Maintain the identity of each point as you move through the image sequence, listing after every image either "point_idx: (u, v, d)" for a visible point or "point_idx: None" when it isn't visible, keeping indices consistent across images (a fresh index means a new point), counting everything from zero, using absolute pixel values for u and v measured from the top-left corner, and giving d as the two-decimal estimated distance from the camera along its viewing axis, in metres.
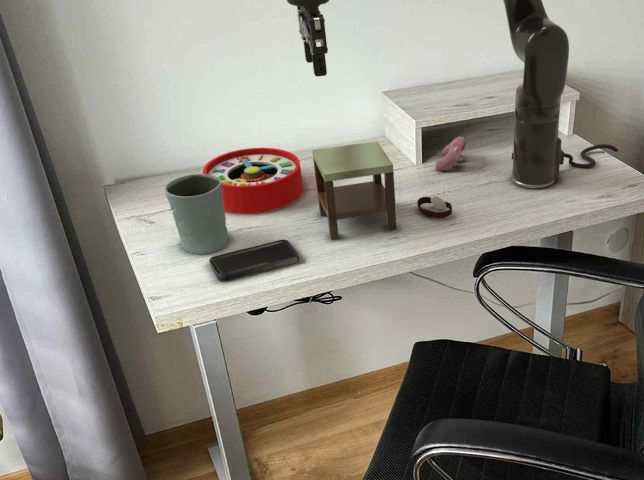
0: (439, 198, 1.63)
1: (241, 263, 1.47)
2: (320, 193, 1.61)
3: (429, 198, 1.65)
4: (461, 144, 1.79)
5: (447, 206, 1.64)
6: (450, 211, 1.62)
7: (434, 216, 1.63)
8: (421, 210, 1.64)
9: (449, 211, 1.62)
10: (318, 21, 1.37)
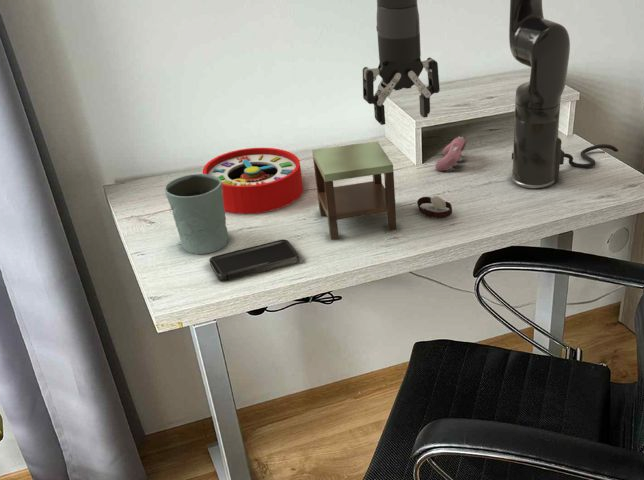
0: (439, 198, 1.63)
1: (241, 263, 1.47)
2: (320, 193, 1.61)
3: (429, 198, 1.65)
4: (461, 144, 1.79)
5: (447, 206, 1.64)
6: (450, 211, 1.62)
7: (434, 216, 1.63)
8: (421, 210, 1.64)
9: (449, 211, 1.62)
10: (365, 72, 1.45)
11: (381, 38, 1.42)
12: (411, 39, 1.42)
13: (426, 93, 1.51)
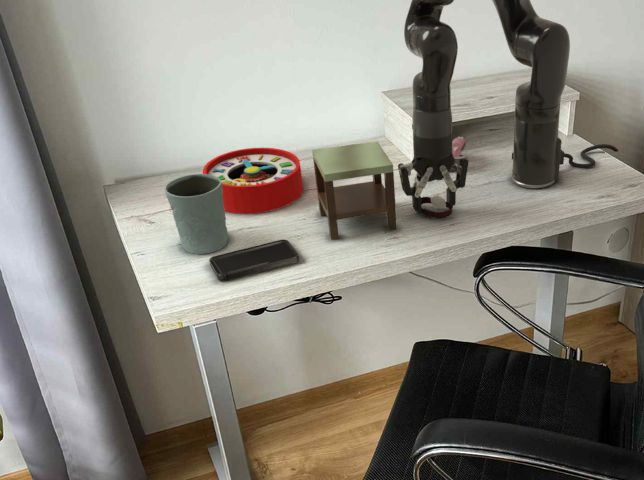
0: (439, 198, 1.63)
1: (241, 263, 1.47)
2: (320, 193, 1.61)
3: (429, 198, 1.65)
4: (461, 144, 1.79)
5: (447, 206, 1.64)
6: (450, 211, 1.62)
7: (434, 216, 1.63)
8: None
9: (449, 211, 1.62)
10: (400, 169, 1.56)
11: (415, 136, 1.53)
12: (443, 139, 1.52)
13: (452, 187, 1.61)
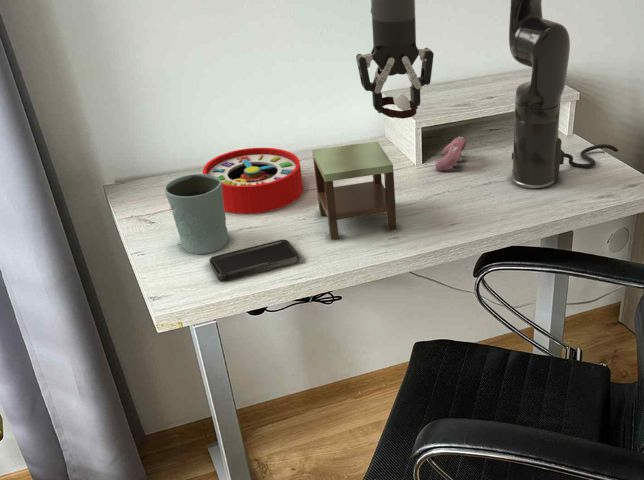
0: (402, 97, 1.50)
1: (241, 263, 1.47)
2: (320, 193, 1.61)
3: (392, 98, 1.51)
4: (461, 144, 1.79)
5: (411, 106, 1.50)
6: (414, 110, 1.48)
7: (397, 116, 1.49)
8: (383, 110, 1.50)
9: (413, 111, 1.48)
10: (358, 60, 1.43)
11: (374, 21, 1.39)
12: (404, 23, 1.38)
13: (416, 84, 1.47)
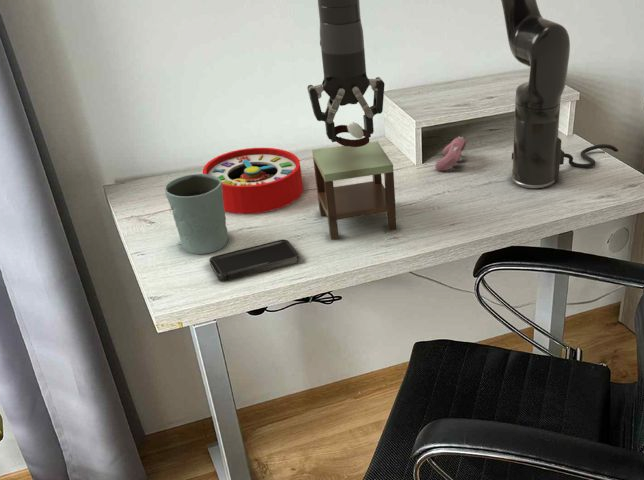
0: (355, 125, 1.51)
1: (241, 263, 1.47)
2: (320, 193, 1.61)
3: (345, 126, 1.53)
4: (461, 144, 1.79)
5: (364, 134, 1.52)
6: (367, 139, 1.50)
7: (350, 145, 1.51)
8: (336, 139, 1.52)
9: (366, 139, 1.50)
10: (309, 91, 1.44)
11: (323, 53, 1.41)
12: (353, 55, 1.40)
13: (368, 113, 1.49)
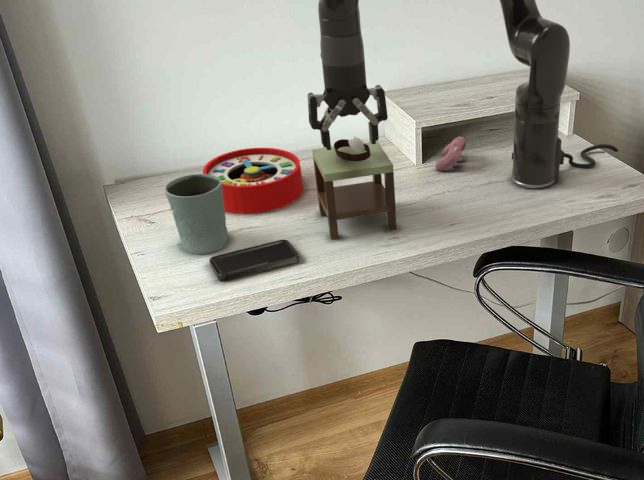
0: (357, 140, 1.53)
1: (241, 263, 1.47)
2: (320, 193, 1.61)
3: (347, 141, 1.55)
4: (461, 144, 1.79)
5: (365, 149, 1.53)
6: (368, 153, 1.52)
7: (351, 159, 1.52)
8: (338, 153, 1.53)
9: (367, 154, 1.52)
10: (309, 98, 1.45)
11: (324, 65, 1.42)
12: (353, 67, 1.41)
13: (373, 120, 1.50)
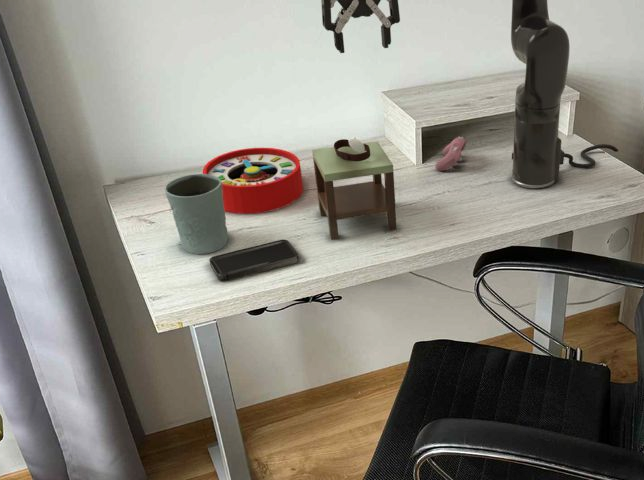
0: (357, 140, 1.53)
1: (241, 263, 1.47)
2: (320, 193, 1.61)
3: (347, 141, 1.55)
4: (461, 144, 1.79)
5: (365, 149, 1.53)
6: (368, 153, 1.52)
7: (351, 159, 1.52)
8: (338, 153, 1.53)
9: (367, 154, 1.52)
10: None
11: None
12: None
13: (386, 22, 1.52)
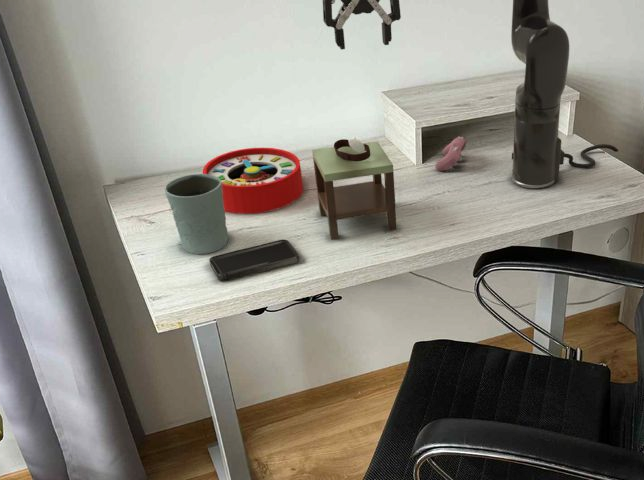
0: (357, 140, 1.53)
1: (241, 263, 1.47)
2: (320, 193, 1.61)
3: (347, 141, 1.55)
4: (461, 144, 1.79)
5: (365, 149, 1.53)
6: (368, 153, 1.52)
7: (351, 159, 1.52)
8: (338, 153, 1.53)
9: (367, 154, 1.52)
10: None
11: None
12: None
13: (387, 19, 1.52)
